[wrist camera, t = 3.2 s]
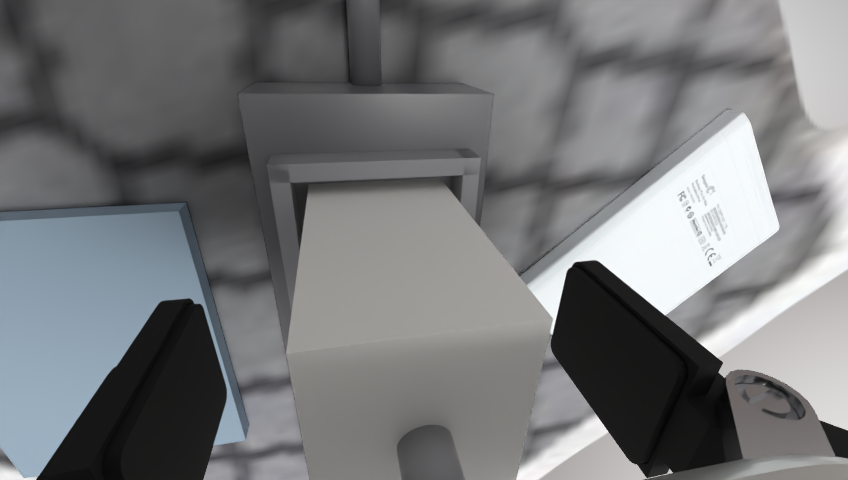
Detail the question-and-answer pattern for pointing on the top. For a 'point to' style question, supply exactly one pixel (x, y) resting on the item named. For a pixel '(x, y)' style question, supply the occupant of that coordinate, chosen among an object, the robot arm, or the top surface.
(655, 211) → the external hard drive
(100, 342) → the mat
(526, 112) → the top surface
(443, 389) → the block
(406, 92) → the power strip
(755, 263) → the top surface
